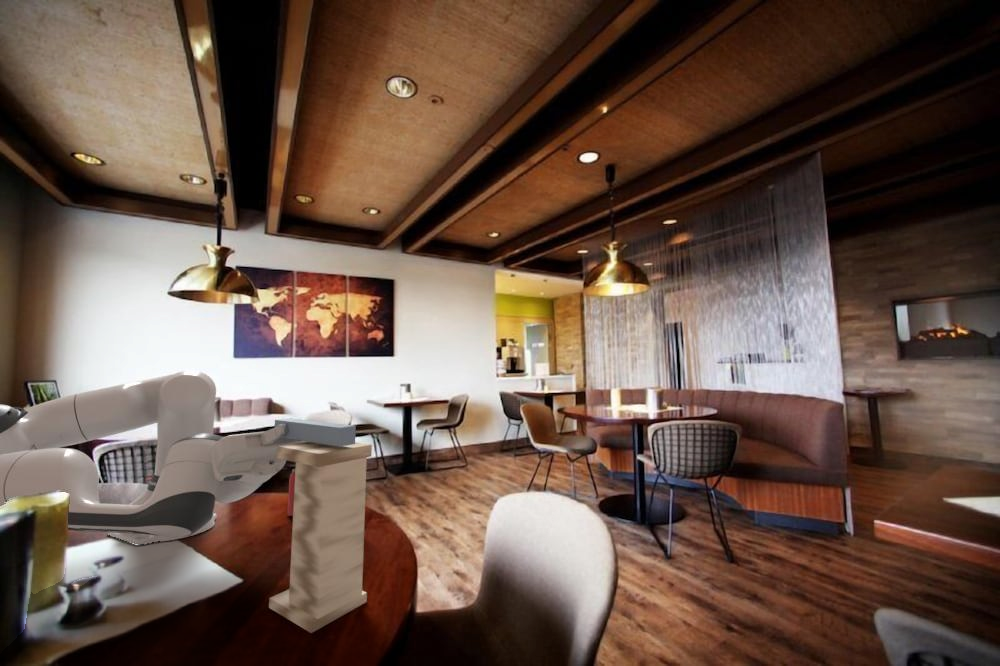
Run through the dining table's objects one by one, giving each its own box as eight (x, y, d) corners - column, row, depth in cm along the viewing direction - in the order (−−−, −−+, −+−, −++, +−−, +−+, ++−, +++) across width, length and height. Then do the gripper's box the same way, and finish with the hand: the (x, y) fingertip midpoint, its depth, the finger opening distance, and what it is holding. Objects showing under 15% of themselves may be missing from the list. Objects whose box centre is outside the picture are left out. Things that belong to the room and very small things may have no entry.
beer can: (303, 519, 108) (305, 472, 109) (281, 517, 109) (284, 471, 110) (319, 511, 114) (321, 467, 115) (298, 509, 115) (300, 466, 117)
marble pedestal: (268, 607, 67) (277, 446, 70) (324, 581, 75) (330, 438, 78) (311, 633, 60) (319, 453, 63) (366, 602, 69) (371, 444, 71)
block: (274, 435, 77) (274, 419, 77) (289, 434, 79) (290, 418, 80) (339, 446, 66) (340, 427, 66) (355, 443, 68) (355, 425, 69)
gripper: (313, 462, 89) (349, 435, 83) (205, 483, 72) (241, 450, 66) (306, 436, 91) (340, 407, 85) (200, 450, 74) (234, 415, 68)
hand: (296, 426), depth 76 cm, fingers closed on block, 3 cm apart
